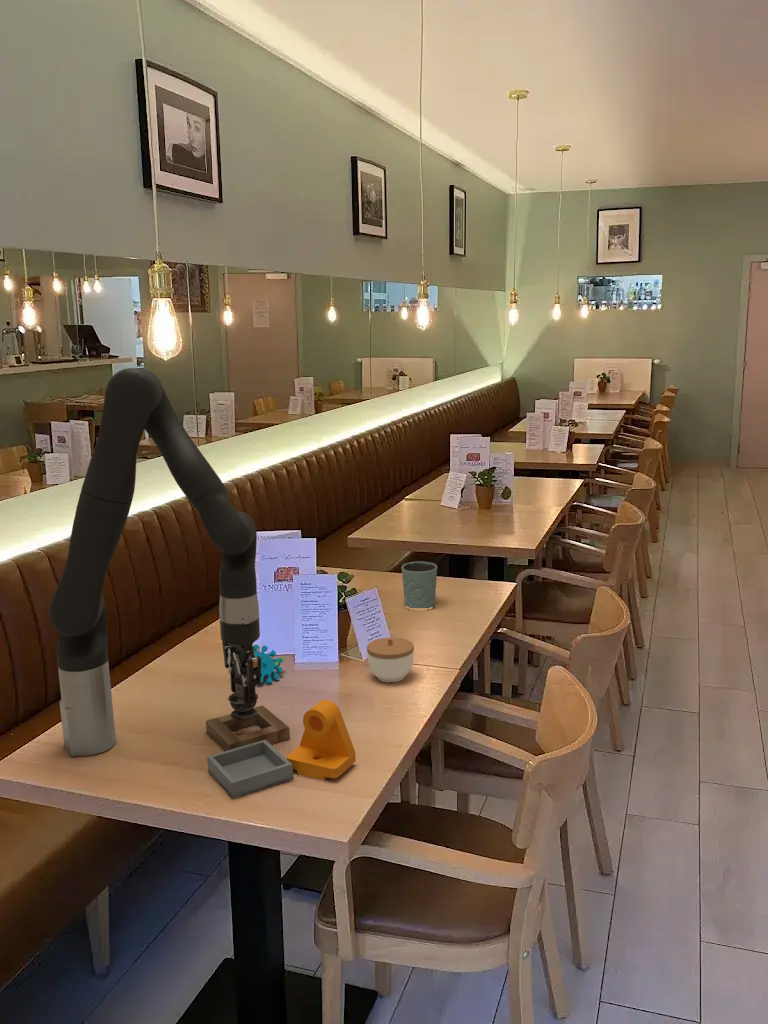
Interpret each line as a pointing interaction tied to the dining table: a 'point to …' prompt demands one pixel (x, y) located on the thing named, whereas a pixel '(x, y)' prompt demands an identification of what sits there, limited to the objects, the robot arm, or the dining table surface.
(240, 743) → the frame
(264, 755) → the grey tray
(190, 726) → the dining table surface
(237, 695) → the dark grey chess piece
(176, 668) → the dining table surface
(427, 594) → the green embossed pot
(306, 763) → the bracket
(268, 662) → the teal virus toy
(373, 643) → the lidded jar
